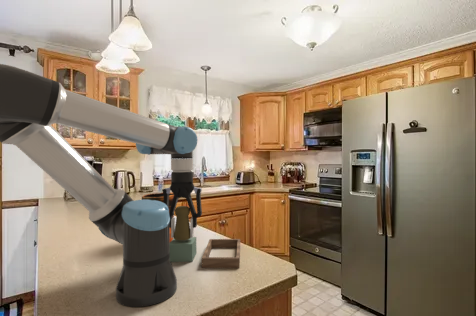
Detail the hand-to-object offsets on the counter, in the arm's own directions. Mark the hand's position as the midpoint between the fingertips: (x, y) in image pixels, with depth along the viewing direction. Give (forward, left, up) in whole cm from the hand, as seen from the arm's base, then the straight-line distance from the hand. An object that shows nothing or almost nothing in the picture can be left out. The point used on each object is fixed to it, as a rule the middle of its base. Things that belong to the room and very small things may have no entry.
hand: (182, 236), depth 95 cm
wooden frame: (+1, -14, -7) cm, 16 cm away
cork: (0, 0, 0) cm, 0 cm away
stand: (0, 0, -7) cm, 7 cm away
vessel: (+18, +14, -8) cm, 24 cm away
